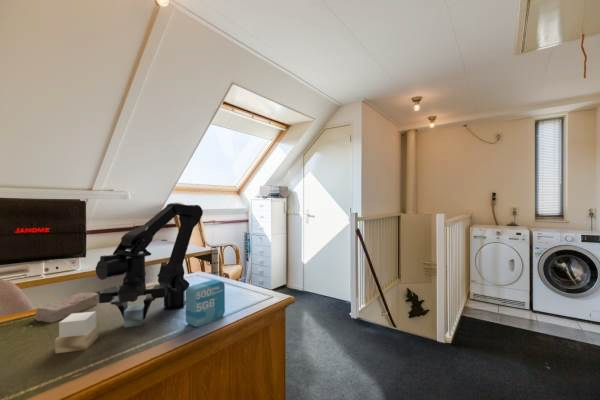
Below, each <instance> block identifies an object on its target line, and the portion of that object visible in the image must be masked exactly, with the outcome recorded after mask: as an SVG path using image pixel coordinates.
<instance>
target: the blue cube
mask: <svg viewBox="0 0 600 400" xmlns="http://www.w3.org/2000/svg"><path fill="white" fill-rule="evenodd" d="M143 312H144V304H143V303H142V304H133V305H128V308H127V309H126V310H125V311H124V318H123V328H131V327H141V326H143V325H144V323H145V321H146V320H147V317H146V318H145V319H143Z"/></svg>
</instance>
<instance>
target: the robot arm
mask: <svg viewBox="0 0 600 400" xmlns="http://www.w3.org/2000/svg"><path fill="white" fill-rule="evenodd" d="M203 214H204V210H203V208H202V207H201V206H200V205H199V204H181V203H177V202H175V203H172V202H171V203H168V204H166V206H165V207H164V208H162V210H161V211H159V212H157V213H156V214H155V215H154V216H152V217H151V218H150V219H149V220H148V221H147V222H145V224H143V225H141V226H139V227H137V228H134V229H131V230H130V231H128V232H126V233H125V234H123V235H122V237H121V239H120V242H119V243H118V245H117V247H116V249H114V251H113V253H112V254H109V255H107V254H106V255H100V256H99V260H98V261H97V263H96V266H95V274H96V276H97V278H98V279H99V280H102V281H104V280H107V279H111V278H116V277H120V276H123V275H124V277H123V278H122V279H123V280H122V285H121V288H120V289H119V288H115V289H107V288H105V289H106V290H105V289H104V290H105V291H104V290H103V291H104V292H102V293H101V294H100V295H99V299H98V300H99V301H98V304H107V303H110V305H114V306H115V307H117V308H118V310H119V311H120V314H121V316H122V318H123V319H124V311H125V310H126V309H127V308H128V306H129V305H128V302H129V303H134V302H136V301H137V300H138V298H139V297H142V296H143V297H144V296H145V298H144V300H143V303H144V312H143V319H145V318H146V319H147V315H148V312H149V310H150V308H151V307H150V306H151V305H152V302H153V301H155V300H156V299H163V307H164V308H163V309H164V310H165V311H166V310H177V309H184V308H185V306H186V289H187V288H188V287H189V286H190V282H189V281H187V279H186V278H184V277H185V268H184V265H183V264H184V261H185V257H186V254H187V251H188V247H189V245H190V242H191V237H192V235H193V231H194V229H195V227H196V226H197V225H199V223H200V221H201V220H202V217H203ZM176 216H178V220H179V224H180V225H179V229H178V232H177V234H176V239H175V241H174V243H173V248H172V251H171V253H170V257H169V260H168V262H167V263H166V264H165V265H163V264H162V265H161V266H160V268H159V272H158V273H157V276H156V277H158V278H157V282H158V284H156V285H154V286H153V287H152V288H147V284H146V275H147V274H146V272H147V271H146V257H150V256H151V255H152V252H150V251H149V250H148V249H147V247H148V246H149V245H150V244H151V242H153V240H154V236H156V234H158V232H159V231H161V229H163V228H164V227H165V226H166V225H167V224H168V223H169V222H170V221H172V220H173V219H174V218H175V217H176Z"/></svg>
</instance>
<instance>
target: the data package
mask: <svg viewBox="0 0 600 400" xmlns="http://www.w3.org/2000/svg"><path fill="white" fill-rule="evenodd" d="M225 286H226V285H225V283H224V281H221V280H217V279H211V280H208V281H204V282H200V283H197V284H193V285H189V287H188V288H187V289H186V290H185V301H186V303H185V322H186V324H187V325H191V326H193V327H195V328H198V327H197V326H199V327H200V325H201V326H203V325H206V324H208V323H210V322H213V321H214V319H215V320H218V319H220V318H222V317H223V316H224V315H225V312H226V299H225V298H226V297H225V295H226V291H225V290H226V289H225ZM221 316H222V317H221ZM219 317H220V318H219ZM217 318H218V319H217ZM212 320H213V321H212ZM209 321H210V322H209ZM207 322H208V323H207ZM205 323H206V324H205ZM202 324H203V325H202Z"/></svg>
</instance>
